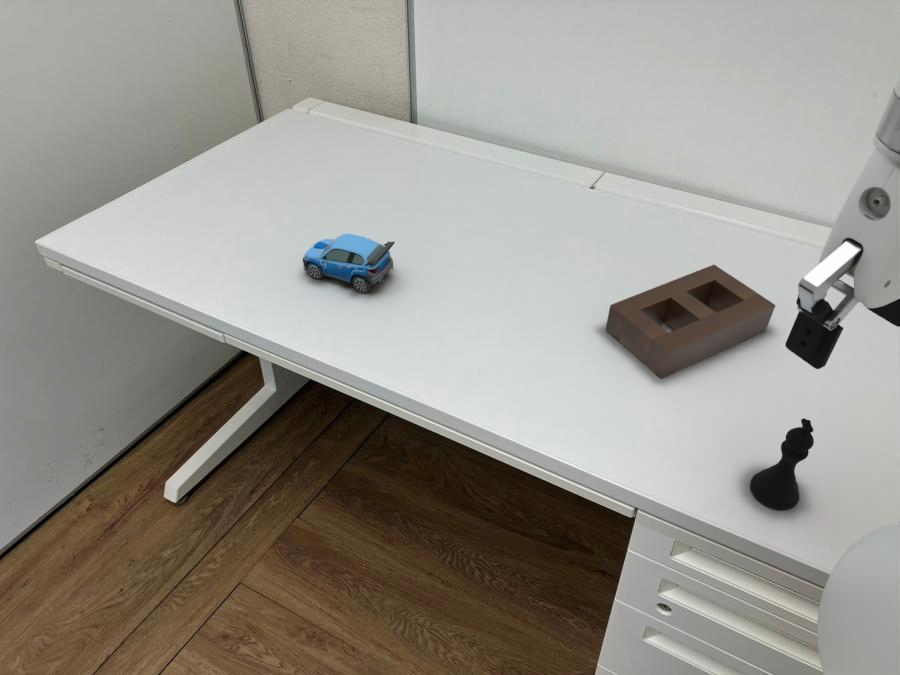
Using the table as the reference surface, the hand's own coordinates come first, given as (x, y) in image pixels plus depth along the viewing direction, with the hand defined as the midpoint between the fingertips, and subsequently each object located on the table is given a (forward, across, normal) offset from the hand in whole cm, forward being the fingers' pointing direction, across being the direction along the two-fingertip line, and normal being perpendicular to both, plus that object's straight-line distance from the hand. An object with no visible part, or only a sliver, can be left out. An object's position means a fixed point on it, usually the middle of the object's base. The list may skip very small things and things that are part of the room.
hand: (845, 336), depth 55 cm
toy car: (+20, -21, +53) cm, 60 cm away
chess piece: (+20, 0, 0) cm, 20 cm away
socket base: (+20, +10, +21) cm, 31 cm away
